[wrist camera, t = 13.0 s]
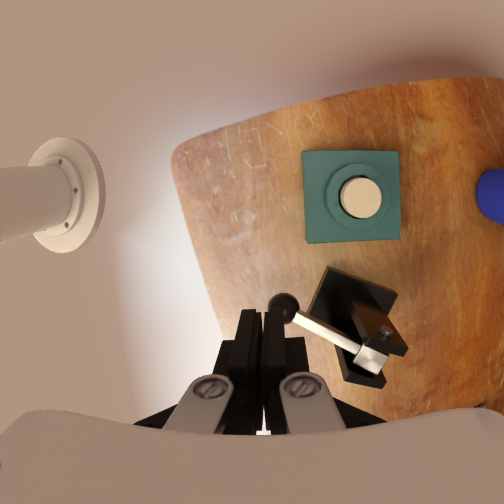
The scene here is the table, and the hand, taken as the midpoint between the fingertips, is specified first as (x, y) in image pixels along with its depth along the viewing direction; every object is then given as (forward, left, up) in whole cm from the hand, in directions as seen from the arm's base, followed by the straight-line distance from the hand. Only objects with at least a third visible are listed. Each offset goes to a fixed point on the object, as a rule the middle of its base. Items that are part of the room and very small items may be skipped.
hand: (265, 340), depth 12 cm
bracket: (+9, -10, -23) cm, 27 cm away
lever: (+5, -8, -16) cm, 19 cm away
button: (+9, +4, -20) cm, 22 cm away
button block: (+9, +4, -23) cm, 25 cm away
